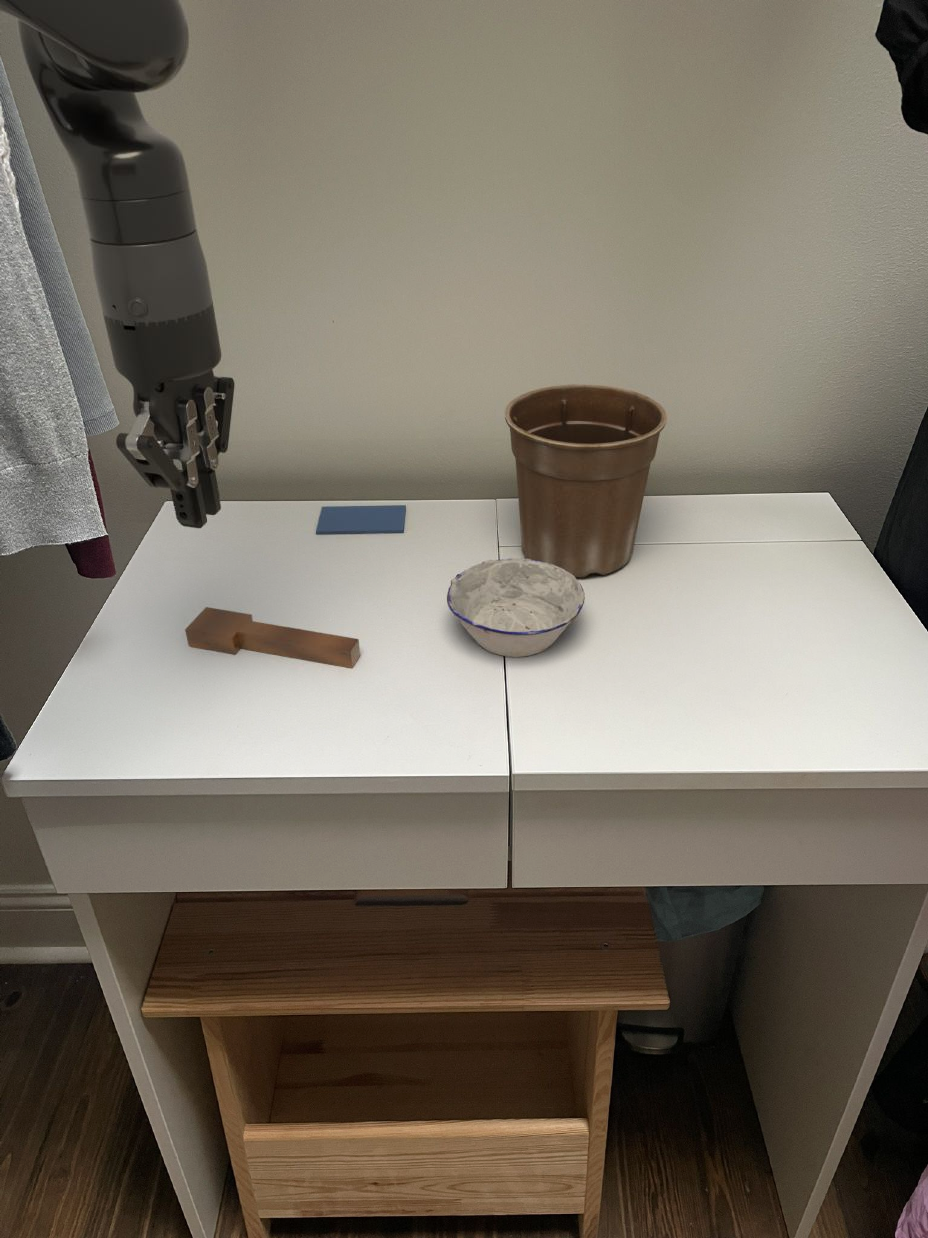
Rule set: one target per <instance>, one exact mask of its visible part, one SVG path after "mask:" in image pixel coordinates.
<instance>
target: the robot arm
mask: <svg viewBox="0 0 928 1238" xmlns="http://www.w3.org/2000/svg"><path fill="white" fill-rule="evenodd" d="M0 13H3V14H6V15H8V16H11V17H12V18H15V19H16V29H17V34H18V39H19V40H18V41H19V43H20V44H19V45H20V48H21V51H22V54H23V57H24V58H23V59H24V61H25V64H26V67H27V70H28V72H29V74H30V77H31V79H32V82H33V84H34V86H35V89H36V91H37V93H38V96H39V97H40V100H41V102H42V105H43V107H44V109H45V112H46V113H47V116H48V118H49V120H50V123H51V124H52V127H53V129H54V132H55V134H56V136H57V138H58V140H59V143H60V144H61V146H62V148H63V149H64V151H65V154H66V155H67V157H68V159H69V162H70V163H71V166H72V168H73V172H74V176H75V180H76V185H77V190H78V194H79V199H80V203H81V207H82V212H83V217H84V222H85V225H86V229H87V233H88V237H89V238H88V239H89V244H90V251H91V263H92V272H93V276H94V282H95V287H96V290H97V295H98V299H99V304H100V307H101V312H102V317H103V322H104V324H105V330H106V333H107V338H108V342H109V346H110V350H111V355H112V359H113V363H114V367H115V369H116V370H117V372H118V373H119V374H120V375H121V376H122V377H123V378H125V379H126V380H127V381H128V382H129V383H130V384H131V386H132V390H133V399H132V400H133V401H132V409H133V413H134V415H135V421H134V422H133V423H134V424H133V425H132V427H131V430H130V432H129V433H126V432H119V433H118V435H117V436H116V439H115V443H116V448H117V449H118V450H119V451H120V453H122V455H123V456H124V458H125V459H126V460H127V461H128V462H129V463H130V465H131V466H132V467H133V468H134V470H135V471H136V472H137V473H138V474H139V475H140V477H141V478H142V479H143V480H144V482H145V483H146V484H147V486H149V487H150V488H157V489H158V488H160V489H168V490H170V494H171V499H172V502H173V503H172V504H173V507H174V508H173V509H174V511H175V512H174V513H175V517H176V520H177V521H178V523H179V524H180V525H181V526H182V527H186V528H193V529H202V528H203V527H204V526H206V524H207V523H208V517H207V515H208V516H215V515H217V514H218V513H219V512H220V511H221V510H222V505H221V500H220V498H221V497H220V490H219V485H218V479H217V474H216V473H217V472H216V470H217V468H218V467H219V462H220V461H219V455H220V454H221V453H222V454H225V453H226V452H227V451H228V450H229V441H230V433H231V422H232V412H233V404H234V394H235V380H234V378H233V377H228V376H218V375H215V374H214V369H215V368H216V367H217V366H218V365H219V364H220V362H221V360H222V349H221V342H220V336H219V331H218V325H217V319H216V313H215V312H216V311H215V306H214V301H213V295H212V290H211V289H212V288H211V283H210V277H209V270H208V266H207V261H206V257H205V254H204V250H203V247H202V244H201V241H200V238H199V237H200V236H199V232H198V229H197V222H196V216H195V210H194V204H193V199H192V198H193V197H192V191H191V187H190V181H189V176H188V171H187V166H186V163H185V162H186V161H185V159H184V156H183V153H182V151H181V149H180V147H179V145H178V144H177V143H176V142H175V141H174V140H173V139H171V138H170V137H168V136H166V135H165V134H163V133H161V132H160V131H159V130H157V129H155V128H154V127H152V125H151V124H150V123H149V122H148V121H147V120H146V118H145V116H144V113H143V111H142V107H141V106H140V103H139V100H138V98H137V95H136V93H147V92H151V91H152V92H153V91H155V90H158V89H161V88H163V87H164V86H167V85H168V84H169V83H171V82H172V81H174V79H175V78H177V76H178V75H179V74H180V72H181V71H182V69H183V68H184V65H185V63H186V60H187V58H188V53H189V46H190V29H189V24H188V23H189V22H188V20H187V16H186V12H185V10H184V7H183V5H182V2H181V0H0ZM174 460H178V461H179V462H180V463H181V469H179V468H178V467H177V465H175V461H174Z"/></svg>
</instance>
